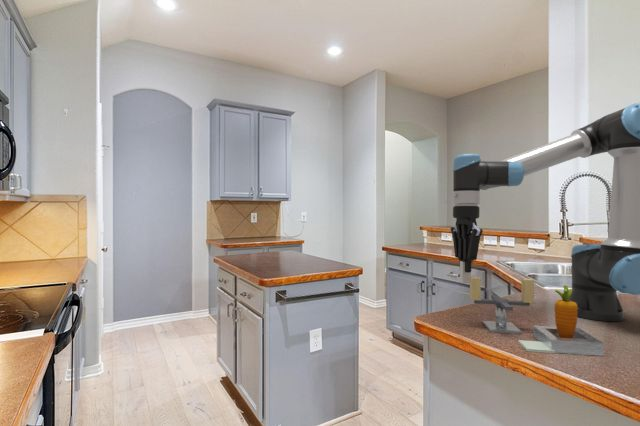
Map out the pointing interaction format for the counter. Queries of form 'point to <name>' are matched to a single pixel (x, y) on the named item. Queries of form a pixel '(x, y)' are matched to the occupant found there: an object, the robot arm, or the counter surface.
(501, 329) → the square base pedestal
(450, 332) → the counter surface
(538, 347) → the pad
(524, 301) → the handwheel
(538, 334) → the gray square frame
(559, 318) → the carrot
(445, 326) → the counter surface
